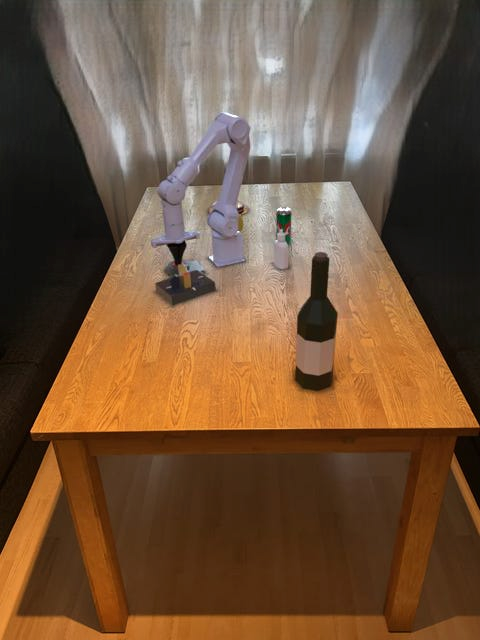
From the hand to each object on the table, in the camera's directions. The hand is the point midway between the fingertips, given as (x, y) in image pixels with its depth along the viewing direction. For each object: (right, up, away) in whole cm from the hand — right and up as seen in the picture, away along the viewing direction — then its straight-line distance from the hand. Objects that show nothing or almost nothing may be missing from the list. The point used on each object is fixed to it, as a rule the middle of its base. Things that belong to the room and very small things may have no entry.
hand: (178, 264), depth 161 cm
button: (0, -1, +1) cm, 2 cm away
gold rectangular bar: (+3, -6, -10) cm, 12 cm away
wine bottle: (+35, -30, -44) cm, 64 cm away
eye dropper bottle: (+32, 0, +4) cm, 32 cm away
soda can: (+34, +9, +19) cm, 39 cm away
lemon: (+17, +13, +27) cm, 35 cm away
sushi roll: (+14, +26, +47) cm, 56 cm away
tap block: (+3, -9, -8) cm, 13 cm away
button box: (+2, -2, +2) cm, 4 cm away
